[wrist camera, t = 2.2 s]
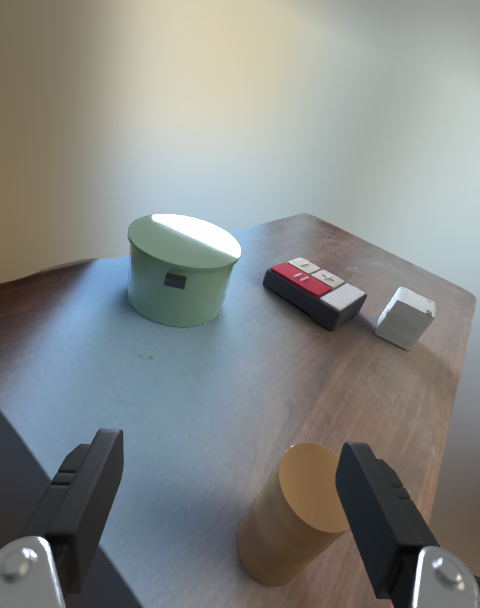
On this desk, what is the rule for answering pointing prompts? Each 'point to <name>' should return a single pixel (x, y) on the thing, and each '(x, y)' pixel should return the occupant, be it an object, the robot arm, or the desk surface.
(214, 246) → the pot
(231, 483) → the desk surface
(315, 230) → the desk surface
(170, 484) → the desk surface
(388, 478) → the robot arm
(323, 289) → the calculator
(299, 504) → the tall wooden cylinder
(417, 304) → the white cardboard box
